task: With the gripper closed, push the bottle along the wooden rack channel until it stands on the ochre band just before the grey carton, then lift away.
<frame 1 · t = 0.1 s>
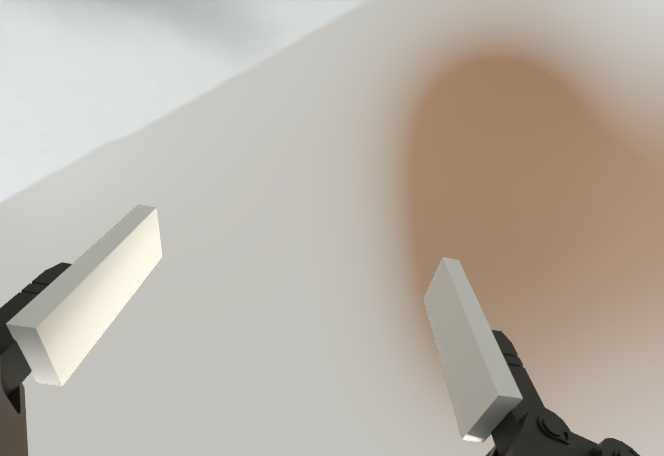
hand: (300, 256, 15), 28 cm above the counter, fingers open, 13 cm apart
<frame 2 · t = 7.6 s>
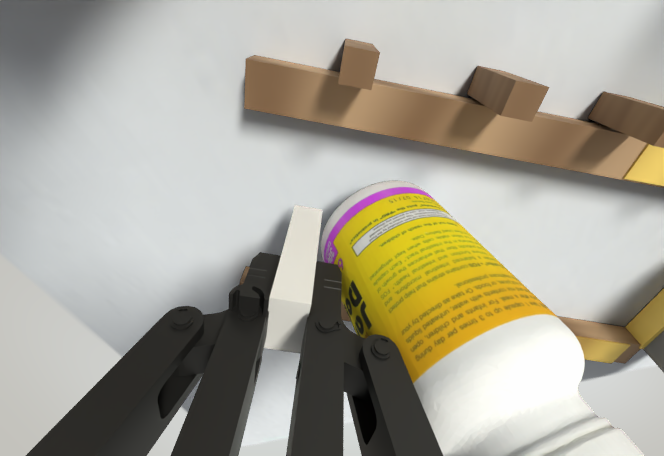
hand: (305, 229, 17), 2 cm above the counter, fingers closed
supplement bottle: (372, 227, 18), point 1 cm above the counter, touching gripper, hand
wooden rack: (475, 235, 19), on the counter
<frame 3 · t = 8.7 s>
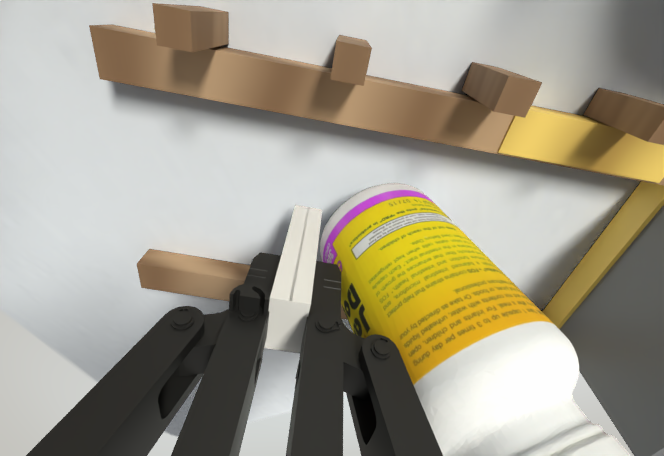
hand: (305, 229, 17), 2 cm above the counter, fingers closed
grey carton: (621, 259, 20), on the counter
supplement bottle: (371, 228, 18), point 1 cm above the counter, touching gripper, hand
wooden rack: (372, 216, 19), on the counter
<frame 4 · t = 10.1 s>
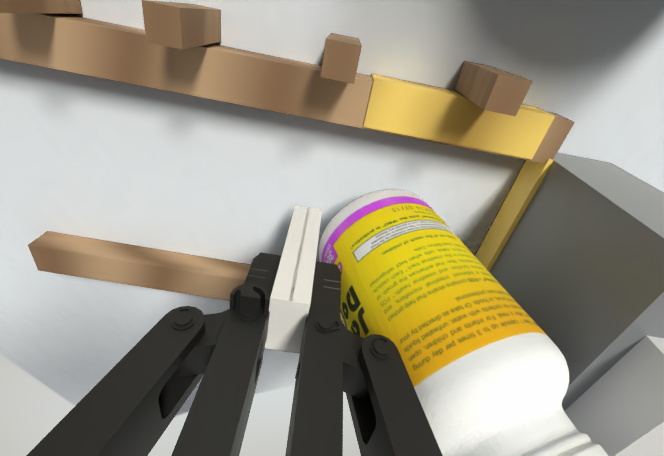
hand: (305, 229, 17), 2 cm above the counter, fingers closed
grey carton: (521, 242, 20), on the counter
supplement bottle: (370, 232, 18), point 1 cm above the counter, touching gripper, hand
wooden rack: (264, 196, 19), on the counter
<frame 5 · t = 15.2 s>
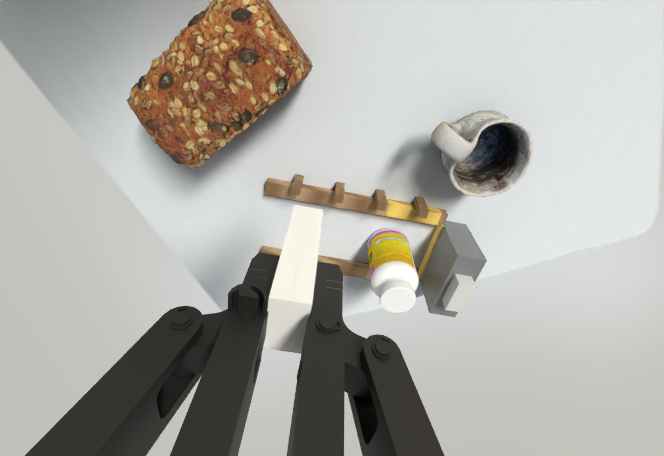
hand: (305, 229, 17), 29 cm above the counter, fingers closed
grey carton: (440, 250, 54), on the counter
mug: (459, 138, 44), on the counter
supplement bottle: (387, 242, 53), on the counter
bread: (233, 75, 41), on the counter
wooden rack: (348, 234, 53), on the counter
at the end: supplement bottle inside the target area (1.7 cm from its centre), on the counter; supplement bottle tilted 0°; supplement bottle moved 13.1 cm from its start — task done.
